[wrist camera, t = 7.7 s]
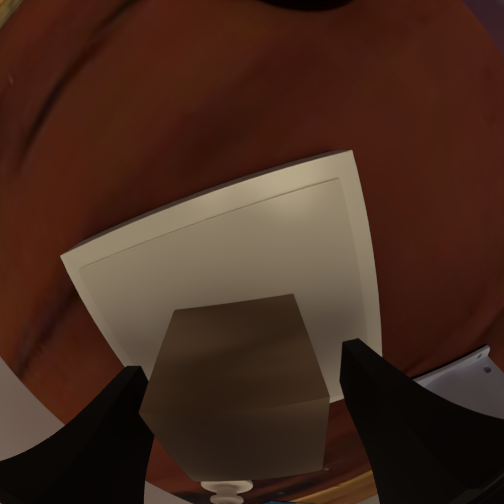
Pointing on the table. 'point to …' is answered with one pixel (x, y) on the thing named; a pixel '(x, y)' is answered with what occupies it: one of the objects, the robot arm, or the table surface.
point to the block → (239, 392)
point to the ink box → (278, 503)
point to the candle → (227, 491)
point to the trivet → (240, 260)
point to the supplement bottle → (312, 3)
